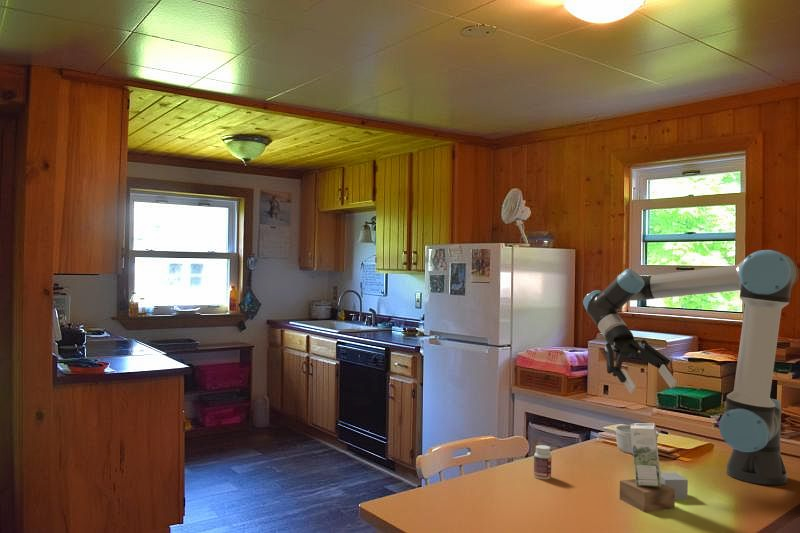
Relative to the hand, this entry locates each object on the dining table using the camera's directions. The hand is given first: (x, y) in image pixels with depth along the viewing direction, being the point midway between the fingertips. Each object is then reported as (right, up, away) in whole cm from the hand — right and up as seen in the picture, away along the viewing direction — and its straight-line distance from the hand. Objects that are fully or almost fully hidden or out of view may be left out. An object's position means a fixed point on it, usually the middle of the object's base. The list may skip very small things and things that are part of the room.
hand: (653, 387), depth 174 cm
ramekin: (+6, -27, +30) cm, 41 cm away
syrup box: (-9, -20, -20) cm, 30 cm away
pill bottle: (-31, -25, -1) cm, 40 cm away
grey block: (-1, -26, -12) cm, 28 cm away
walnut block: (-10, -25, -20) cm, 33 cm away
